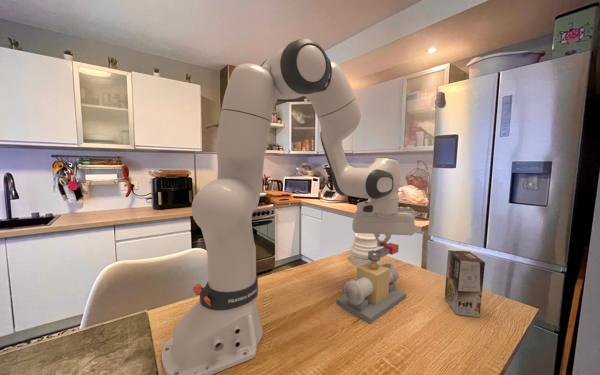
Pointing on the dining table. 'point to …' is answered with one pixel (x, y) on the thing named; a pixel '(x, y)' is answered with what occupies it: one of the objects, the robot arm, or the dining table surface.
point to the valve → (371, 291)
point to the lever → (383, 252)
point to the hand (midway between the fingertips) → (381, 246)
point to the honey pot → (363, 248)
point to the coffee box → (464, 282)
